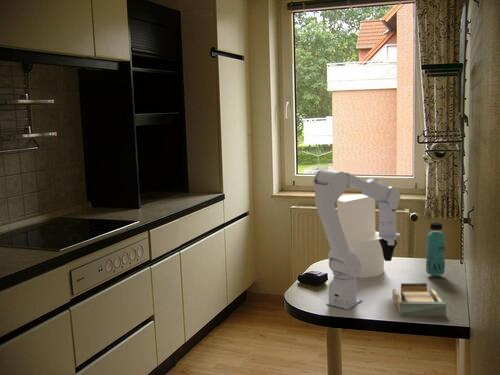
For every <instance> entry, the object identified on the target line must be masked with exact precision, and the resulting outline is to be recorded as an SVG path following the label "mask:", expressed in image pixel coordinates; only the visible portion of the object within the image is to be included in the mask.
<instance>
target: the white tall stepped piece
mask: <svg viewBox="0 0 500 375" xmlns="http://www.w3.org/2000/svg"><path fill="white" fill-rule="evenodd" d="M336 211H337V214H338V217H339V220H340V223H341V226H342V229H343V232H344V235H345V238H346V241H347V244H348V247H349V248H350V249H351V250H352V251H353V252H354V253H355V254H356V257H357V258H358V259H359V260H360V262H361V264H362V269H361V272H360V274H359V275H358V277H357V278H362V279H363V278H373V277H377V276H381V275H382V274H383V273H384V271H385V267H384V266H385V265H384V264H385V260H384V257H383V251H382V247H381V244H380V242H379V239H382V238H380V237H379V236H378V234H379V231H376V199H373V198H371V197H368V196H365V195H364V194H347V195H341V196H340V197H339V199H338V200H337V201H336Z"/></svg>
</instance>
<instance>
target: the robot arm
mask: <svg viewBox="0 0 500 375" xmlns="http://www.w3.org/2000/svg"><path fill="white" fill-rule="evenodd" d="M312 184H313V187H314V206H315V207H316V210H317V214H318V216H319V219H320V222H321V225H322V229H323V231H324V233H325V236H326V239H327V241H328V245H329V248H330V251H329V252H328V253H327V257H328V268H329V269H330V271H332V275H333V279H332V280H331V281H330V282H329V284H328V301H327V302H326V305H327V306H331V307H337V308H340V309H345V310H350V309H351V308H352V307H354V306H356V305H358V304H359V303H361V302H362V301H363V299H362V298H359V297H357V296H358V294H357V291H358V289H357V285H358V284H357V278H359V277H358V275H359V274H360V272H361V269H362V264H361V262H360V260H359V259H358V258H357V257H356V254H355V253H354V252H353V251H352V250H351V249H350V248H349V247H348V244H347V241H346V238H345V235H344V232H343V229H342V226H341V223H340V220H339V217H338V214H337V207H336V205H335V202H336V203H337V200H338V199H339V197H341V196H343V193H344V192H345V191H346V190H347V188H350V187H352V188H354V189H358V190H361V193H362V195H365V196H368V197H371V198H373V199H375V202H378V232H379V234H378V236H379V237H380V238H382V239H379V242H380V244H381V247H382V251H383V257H384V262H391V261H392V260H393V259H392V258H393V255H394V251H395V248H396V245H397V244H398V242H397V240H396V239H397V237H398V238H399V237H401V233H399V232H397V209H398V207H399V202H400V200H401V193H400V191H399V190H398V188H397V187H396V186H391V185H390V186H389V185H388V183H387V182H380V181H379V180H378V179H377V178H375V177H373V178H368V179H366V180H365V179H363V178H360V177H358V176H356V175H354V174H352V173H349V172H345V171H338V170H328V169H324V168H323V169H319V170H318V171H317V172H316V173H315V176H314V177H313V180H312Z"/></svg>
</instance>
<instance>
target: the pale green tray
mask: <svg viewBox="0 0 500 375" xmlns="http://www.w3.org/2000/svg"><path fill="white" fill-rule="evenodd" d="M429 291H430V292H429V294H430V296H431V297H432V298H433V300H434V301H435V302H404V301H402V299H401V295H399V292H398V290H397V289H396V288H392V300H393V302H394V304H395V305H396V308H397V310H398V312H399V315H400V316H401V317H447V303H446V301H443V300H442V299H441V298H440V296H439V295H438V293H437V292H436V290H435V289H434V288H430V289H429Z"/></svg>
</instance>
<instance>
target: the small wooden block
mask: <svg viewBox="0 0 500 375" xmlns="http://www.w3.org/2000/svg"><path fill="white" fill-rule="evenodd" d="M400 298H401V300H402V302H435V301H434V300H433V298H432V297H431V296H430V292H429V291H428V284H427V282H419V283H417V282H415V283H413V282H412V283H404V282H403V283H400Z"/></svg>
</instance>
